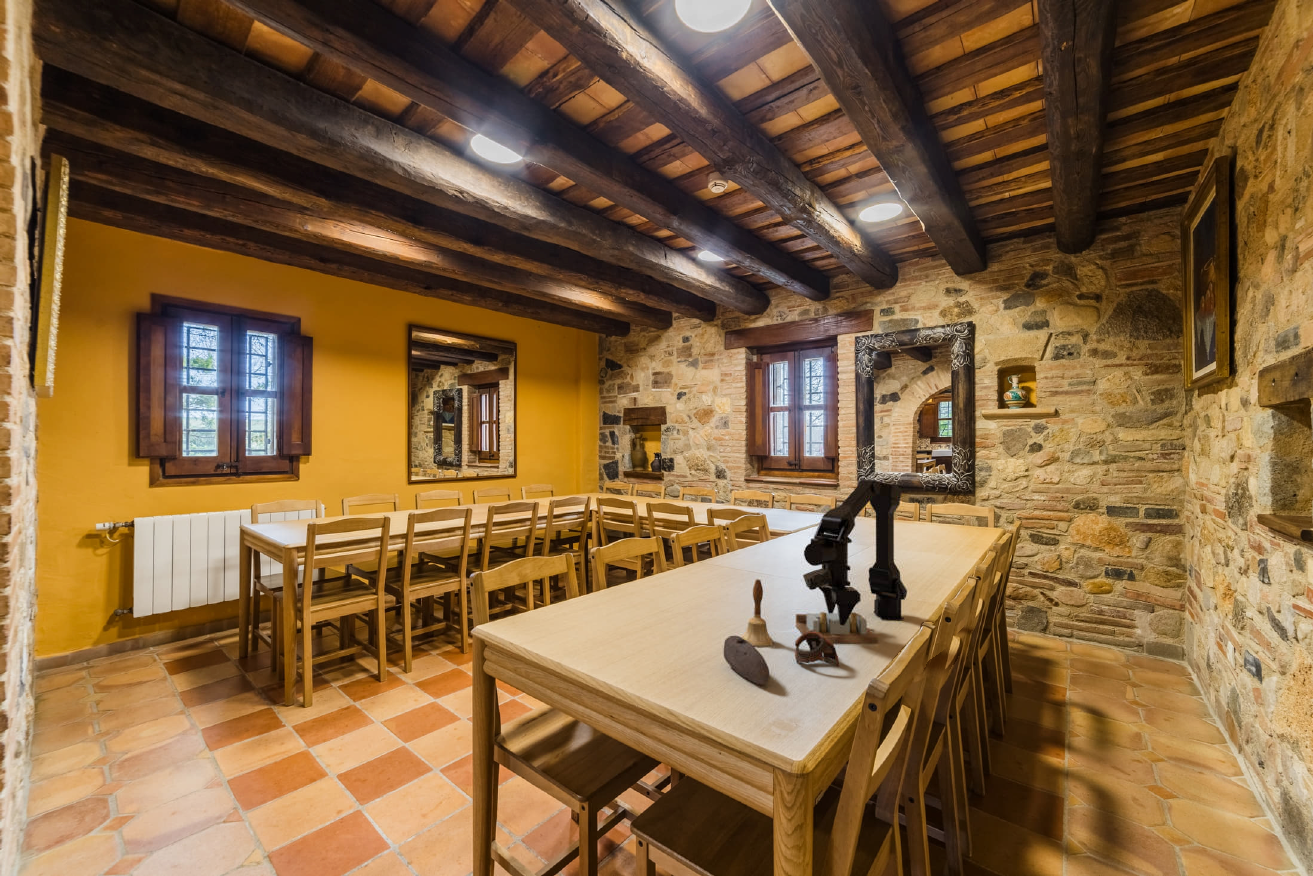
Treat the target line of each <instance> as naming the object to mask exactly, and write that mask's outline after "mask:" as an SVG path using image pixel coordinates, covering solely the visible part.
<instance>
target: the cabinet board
mask: <svg viewBox="0 0 1313 876" xmlns="http://www.w3.org/2000/svg"><path fill="white" fill-rule="evenodd" d="M819 613H820V630H819V633H821V634H822V635H823V636H824V637H826V638H827V639H829V640H830V641H831V642H832V643H833V644H855V643H856V644H878V643H879V637H878V635H876V634H875V633H874V632H872V630H870V629H869V628H868V627H867V634H860V633H859V632H858V631H857V612H853V611H852V612H851V614H850V634H830V633H829V632H828V631H827V630H826V613H827V612H824V611H821V612H819ZM858 614H859V613H858ZM859 615H860V616H861V617H863V616H862V615H861V614H859ZM795 628H796V629H797V630H798V631H800V632H799V633H800V634H801V635H803V634H804V633H807V632H809V631H810V630H809V628H808V627H807V613H796V614H795ZM819 640H820V641H821V639H819Z"/></svg>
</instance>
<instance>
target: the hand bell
mask: <svg viewBox="0 0 1313 876" xmlns="http://www.w3.org/2000/svg"><path fill="white" fill-rule="evenodd" d="M763 595H764V589H763V585H762V581H761V579H755V582H754V585H753V588H752V598H753V602H754V611H753V617H752V618H749V619H748V624H747V627H746V631H745V632H744V634H743V635H742V636H740V637H741V638H743V639H744V640H746V641H748V642H749V643H751V644H752V645H753V646H755V648H766V646H767V647H770V646H772V645H773V644H774V640H773V638H772V637H771V636H770V635H769V633H768V632H769V631H768V629H767V628H768V627H767V622H766V621H767V620H765V619H764V618H762V607H761V605H762V600H763ZM771 644H772V645H771ZM764 646H765V647H764Z"/></svg>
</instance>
